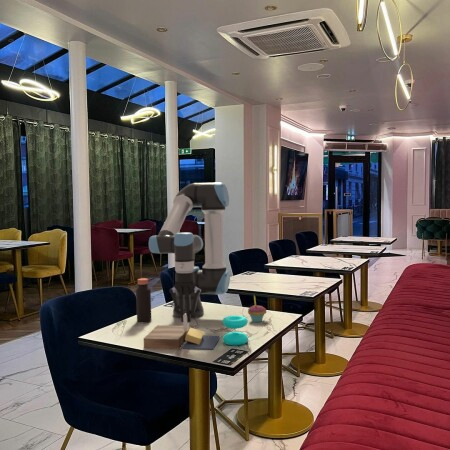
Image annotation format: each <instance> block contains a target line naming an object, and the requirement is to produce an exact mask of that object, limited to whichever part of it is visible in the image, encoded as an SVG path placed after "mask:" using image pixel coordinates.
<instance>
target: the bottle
mask: <svg viewBox="0 0 450 450" xmlns="http://www.w3.org/2000/svg"><path fill="white" fill-rule="evenodd" d="M151 296H152V295H151V288H150V287H149V278H145V277H141V278H137V288H136V289H135V297H136V298H135V300H136V303H135V304H136V322H137V323H139V322H147V323H149V322H151V321H152V297H151Z"/></svg>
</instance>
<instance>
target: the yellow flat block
mask: <svg viewBox="0 0 450 450" xmlns="http://www.w3.org/2000/svg"><path fill="white" fill-rule="evenodd" d="M204 334H205V332H204V331H202V330H199V329H196V328H192V327H190V329H189V331H188V332H187V334H186V338H185V340H186V341H190V342H193V343H196V344H200V342H201V340H202V338H203V335H204ZM186 341H185V342H186Z"/></svg>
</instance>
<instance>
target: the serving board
mask: <svg viewBox="0 0 450 450" xmlns="http://www.w3.org/2000/svg"><path fill="white" fill-rule="evenodd" d="M190 328H191V326H190V325H189V329H190ZM188 331H189V330H188ZM188 331H184V328H183V325H166V324H165V325H159V324H158V325H156V326H155V327H154V328H153V329H151V331H150V332H149V333H147V334H146V335H145V336H144V337H143V349H144V348H153V349H152V350H173V351H174V350H175V351H176V350H179V351H180V349H181V347H182V346H183V344H184V343H185V342H186V340H185V338H186V334H187V332H188Z"/></svg>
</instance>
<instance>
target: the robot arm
mask: <svg viewBox="0 0 450 450" xmlns="http://www.w3.org/2000/svg"><path fill="white" fill-rule="evenodd" d="M229 196H230V195H229V191H228V188H227V186H226V184H225V183H223V182H218V181H215V182H193V183H190V184H187V185H186V186H184V187H183V188H182V189H181V190H180V191H178V192H177V194H176V195H175V197H174V199H173V201H172V203H173V205H172V207H171V209H170V211H169V213H168V215H167V217H166V218H165V221H164V222H163V225H162V227H161V229H160V231H159V232H158V235H156V234H155V235H152V236H150V237H149V238H148V239H149V240H148V250H149V251H150V253H152V254H159V255H160V254H174V271H175V273H174V274H175V275H174V277H175V278H174V279H175V284H174V286H173V287H171V288H170V289H169V290H168V291H169V293H170V295H171V299H172V303H173V310H172V315H173V316H174V317H175V318H179V319H180V322H181V323H182V324H183V325H182V326H183V328H184V331H188V330H189V326H190V323H191V321H192V319H193V318H198V317H202V316H203V315H204V313H205V311H204V307H203V304H202V301H201V295H216V296H217V295H225V294H226V293H227V292H228V289H229V287H230V281H231V271H230V270H228V269H227V265H226V264H225V263H224V248H223V247H224V244H223V243H224V242H223V237H224V235H223V214H224V212H226V207H229V205H230V197H229ZM193 208H201V209H200V210H201V211H202V213H203V214H204V242H203V239H202V237H200V236H199V235H197V234H193V233H192V232H187V231H186V232H180V230H181V228H182V225H183V224H184V222H185V219H186V217H187V215H188V213H189V212H190V211H192V209H193ZM204 245H205V246H204ZM203 246H204V252H205V253H204V256H205V258H204V260H205V261H204V262H205V263H204V264H203V265H202V268H201V269H200V267H199V266H196V265H195V261H194V260H195V256H194V255H195V254H198V253H199V252H200V251H201V250H203Z"/></svg>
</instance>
